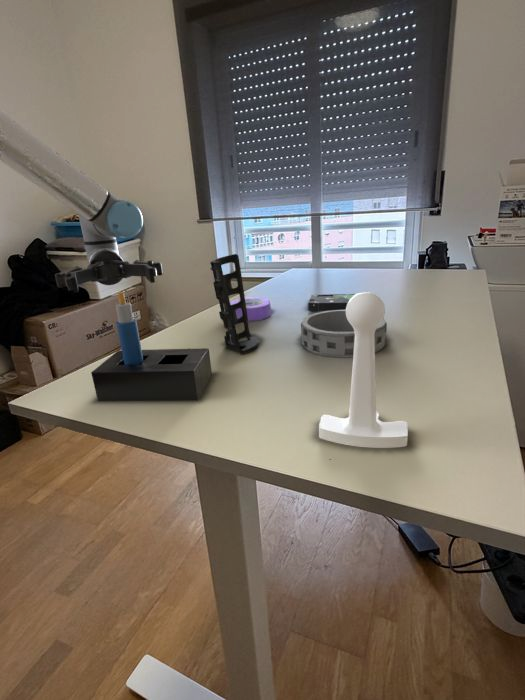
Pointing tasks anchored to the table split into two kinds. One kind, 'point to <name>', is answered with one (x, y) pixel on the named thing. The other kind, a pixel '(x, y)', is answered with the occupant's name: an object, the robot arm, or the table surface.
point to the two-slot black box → (154, 376)
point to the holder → (229, 311)
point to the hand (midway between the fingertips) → (114, 280)
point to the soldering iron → (128, 333)
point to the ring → (334, 334)
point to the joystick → (364, 386)
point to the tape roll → (255, 308)
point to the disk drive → (329, 302)
